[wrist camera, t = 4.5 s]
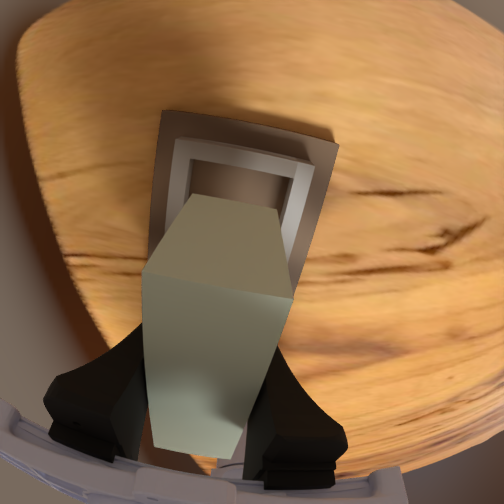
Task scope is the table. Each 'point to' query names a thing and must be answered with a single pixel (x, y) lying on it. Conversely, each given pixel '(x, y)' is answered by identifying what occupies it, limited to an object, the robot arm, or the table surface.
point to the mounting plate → (241, 174)
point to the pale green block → (212, 322)
